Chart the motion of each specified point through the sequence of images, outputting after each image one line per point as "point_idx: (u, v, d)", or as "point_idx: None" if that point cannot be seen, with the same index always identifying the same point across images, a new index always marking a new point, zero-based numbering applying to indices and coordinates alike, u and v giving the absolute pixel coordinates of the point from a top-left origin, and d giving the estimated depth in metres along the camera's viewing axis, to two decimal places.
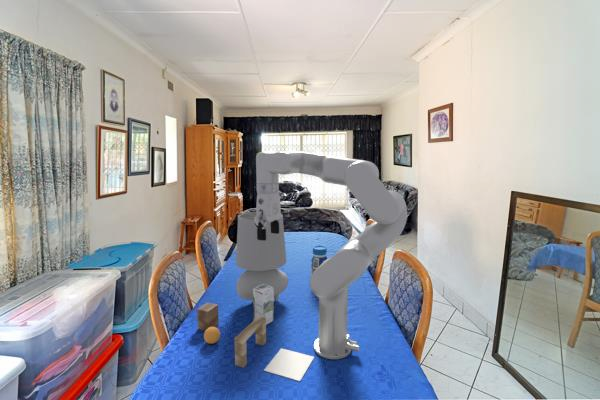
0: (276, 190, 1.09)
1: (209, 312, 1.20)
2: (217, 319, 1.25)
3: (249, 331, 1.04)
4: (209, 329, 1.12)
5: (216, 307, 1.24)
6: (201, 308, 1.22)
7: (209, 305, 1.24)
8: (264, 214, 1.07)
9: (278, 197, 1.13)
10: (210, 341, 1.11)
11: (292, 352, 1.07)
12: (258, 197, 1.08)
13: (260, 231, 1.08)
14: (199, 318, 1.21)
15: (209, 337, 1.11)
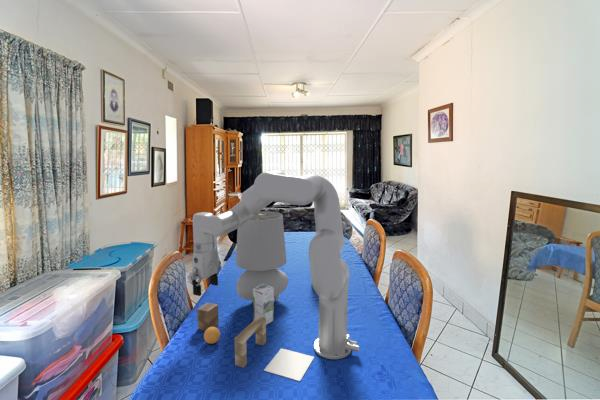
0: (211, 249, 1.18)
1: (209, 312, 1.20)
2: (217, 319, 1.25)
3: (249, 331, 1.04)
4: (209, 329, 1.12)
5: (216, 307, 1.24)
6: (201, 308, 1.22)
7: (209, 305, 1.24)
8: (199, 272, 1.15)
9: (215, 253, 1.21)
10: (210, 341, 1.11)
11: (292, 352, 1.07)
12: (194, 256, 1.16)
13: (195, 287, 1.16)
14: (199, 318, 1.21)
15: (209, 337, 1.11)
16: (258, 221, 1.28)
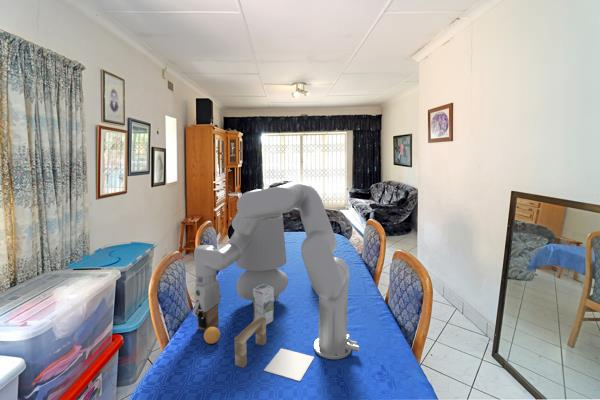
0: (213, 281, 1.19)
1: (209, 312, 1.20)
2: (217, 319, 1.25)
3: (249, 331, 1.04)
4: (209, 329, 1.12)
5: (216, 307, 1.24)
6: None
7: None
8: (201, 305, 1.17)
9: (217, 285, 1.23)
10: (210, 341, 1.11)
11: (292, 352, 1.07)
12: (196, 289, 1.18)
13: (200, 320, 1.19)
14: None
15: (209, 337, 1.11)
16: None
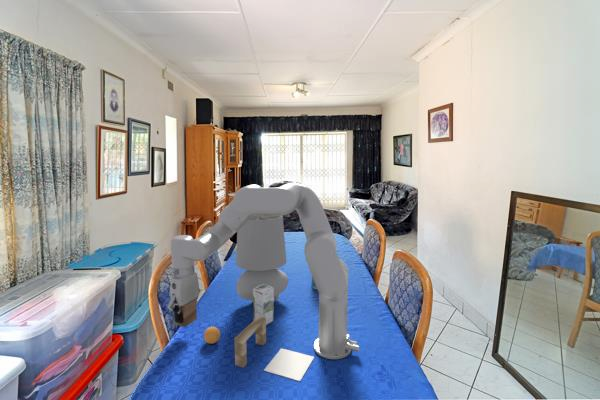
0: (190, 274, 1.12)
1: (186, 306, 1.13)
2: (195, 314, 1.18)
3: (249, 331, 1.04)
4: (209, 329, 1.12)
5: (194, 301, 1.17)
6: None
7: None
8: (177, 298, 1.10)
9: (195, 278, 1.16)
10: (210, 341, 1.11)
11: (292, 352, 1.07)
12: (172, 281, 1.11)
13: (176, 315, 1.13)
14: None
15: (209, 337, 1.11)
16: (258, 221, 1.28)
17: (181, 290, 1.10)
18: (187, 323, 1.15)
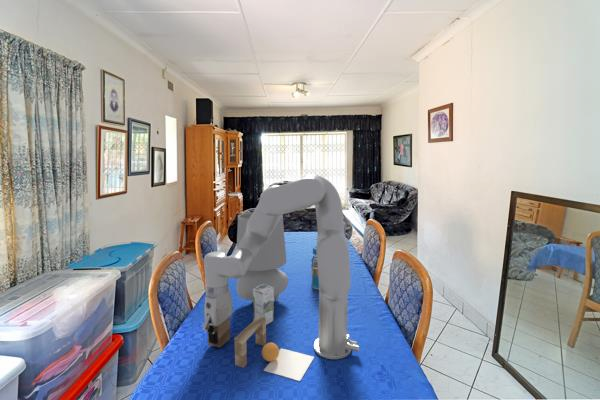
0: (225, 292, 1.08)
1: (220, 326, 1.09)
2: (229, 333, 1.13)
3: (249, 331, 1.04)
4: (275, 358, 1.02)
5: (228, 320, 1.12)
6: None
7: None
8: (212, 319, 1.06)
9: (229, 296, 1.12)
10: (263, 356, 1.02)
11: (292, 352, 1.07)
12: (206, 301, 1.06)
13: (211, 335, 1.08)
14: None
15: (267, 359, 1.02)
16: None
17: (216, 310, 1.06)
18: (221, 343, 1.10)
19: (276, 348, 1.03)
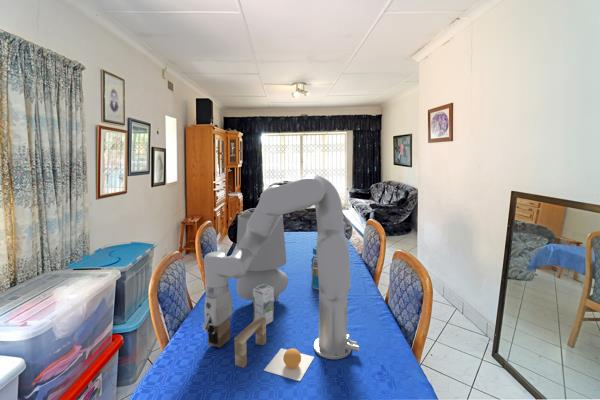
0: (225, 292, 1.08)
1: (220, 326, 1.09)
2: (229, 333, 1.13)
3: (249, 331, 1.04)
4: (283, 357, 1.01)
5: (228, 320, 1.12)
6: None
7: None
8: (212, 319, 1.06)
9: (229, 296, 1.12)
10: (291, 360, 0.98)
11: None
12: (206, 301, 1.06)
13: (211, 335, 1.08)
14: None
15: (287, 359, 0.99)
16: None
17: (216, 310, 1.06)
18: (221, 343, 1.10)
19: None
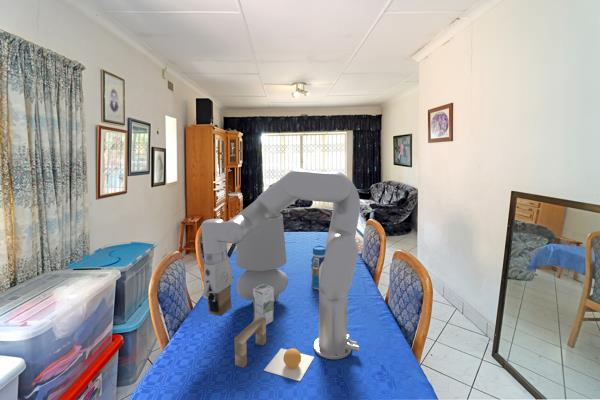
0: (224, 259, 1.06)
1: (220, 294, 1.07)
2: (230, 302, 1.12)
3: (249, 331, 1.04)
4: (283, 357, 1.01)
5: (228, 289, 1.11)
6: None
7: None
8: (211, 285, 1.04)
9: (228, 264, 1.10)
10: (291, 360, 0.98)
11: None
12: (205, 268, 1.05)
13: (211, 303, 1.06)
14: None
15: (287, 359, 0.99)
16: None
17: (215, 276, 1.04)
18: (222, 312, 1.08)
19: None
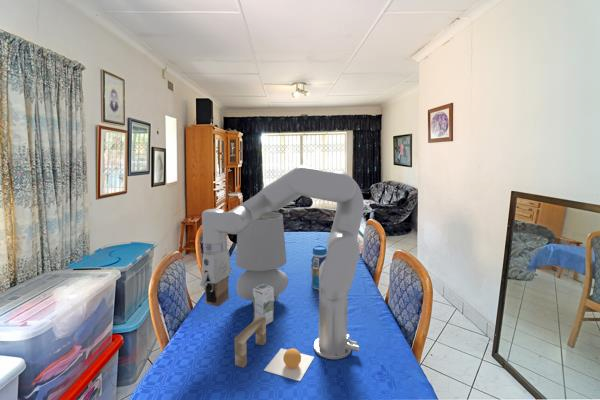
0: (223, 249, 1.05)
1: (218, 284, 1.06)
2: (227, 293, 1.11)
3: (249, 331, 1.04)
4: (283, 357, 1.01)
5: (226, 280, 1.10)
6: None
7: None
8: (209, 275, 1.03)
9: (227, 254, 1.09)
10: (291, 360, 0.98)
11: None
12: (204, 257, 1.04)
13: (209, 294, 1.06)
14: None
15: (287, 359, 0.99)
16: (258, 221, 1.28)
17: (214, 266, 1.03)
18: (219, 302, 1.07)
19: None
